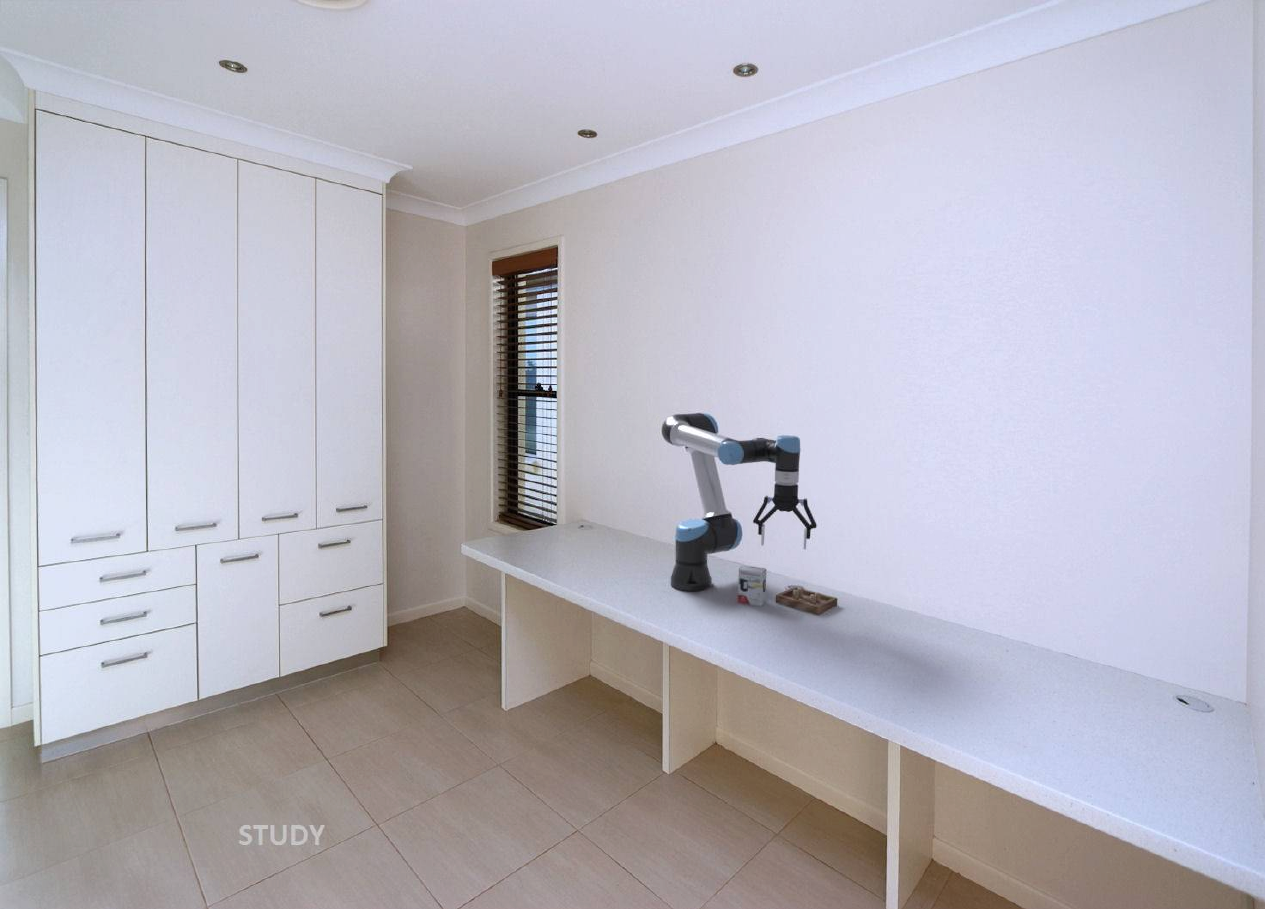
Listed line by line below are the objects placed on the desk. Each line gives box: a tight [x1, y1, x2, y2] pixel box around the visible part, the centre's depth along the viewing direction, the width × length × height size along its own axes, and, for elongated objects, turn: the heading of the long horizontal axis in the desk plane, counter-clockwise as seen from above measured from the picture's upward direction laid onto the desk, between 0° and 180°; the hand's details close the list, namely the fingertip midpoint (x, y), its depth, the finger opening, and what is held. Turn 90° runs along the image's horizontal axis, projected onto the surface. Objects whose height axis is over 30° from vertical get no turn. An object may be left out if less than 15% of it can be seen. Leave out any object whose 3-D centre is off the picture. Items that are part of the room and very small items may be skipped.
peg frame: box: [775, 586, 838, 616], centre depth 207 cm, size 16×12×4 cm
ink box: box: [737, 564, 767, 607], centre depth 209 cm, size 9×5×12 cm, turn 62°
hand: (783, 546), depth 205 cm, fingers open, 13 cm apart
